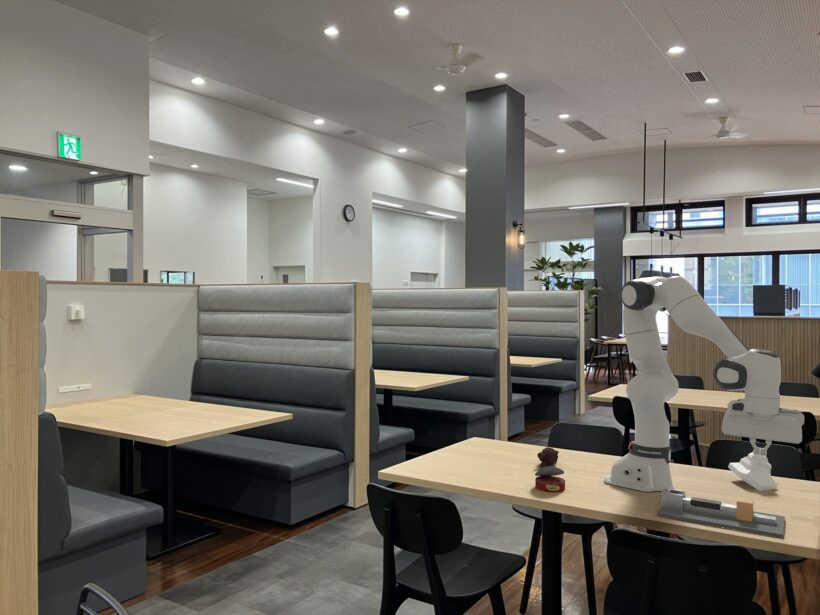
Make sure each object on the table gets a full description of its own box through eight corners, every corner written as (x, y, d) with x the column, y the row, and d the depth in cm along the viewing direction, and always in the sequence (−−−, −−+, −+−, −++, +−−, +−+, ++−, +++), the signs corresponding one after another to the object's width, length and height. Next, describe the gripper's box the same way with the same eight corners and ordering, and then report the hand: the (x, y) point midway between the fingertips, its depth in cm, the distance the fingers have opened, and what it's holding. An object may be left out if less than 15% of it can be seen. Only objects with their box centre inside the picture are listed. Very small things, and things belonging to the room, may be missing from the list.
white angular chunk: (761, 484, 231) (774, 447, 229) (777, 500, 216) (791, 461, 214) (725, 473, 233) (738, 437, 231) (740, 488, 218) (753, 449, 216)
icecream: (547, 443, 256) (528, 453, 245) (564, 441, 251) (545, 451, 240) (552, 460, 255) (533, 471, 244) (568, 459, 251) (550, 469, 239)
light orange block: (736, 519, 183) (736, 501, 183) (737, 514, 188) (738, 496, 188) (752, 521, 181) (752, 503, 181) (753, 517, 186) (753, 499, 186)
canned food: (536, 503, 214) (523, 475, 216) (549, 493, 222) (536, 466, 224) (564, 494, 207) (550, 465, 209) (576, 484, 215) (563, 456, 217)
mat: (657, 516, 188) (657, 512, 188) (667, 500, 204) (668, 497, 204) (783, 538, 172) (783, 534, 172) (784, 519, 187) (784, 516, 187)
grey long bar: (661, 507, 194) (661, 492, 194) (664, 502, 198) (664, 487, 198) (775, 526, 178) (775, 510, 178) (776, 520, 183) (776, 505, 183)
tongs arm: (673, 502, 193) (673, 496, 193) (674, 500, 196) (675, 494, 196) (751, 515, 182) (751, 509, 182) (752, 512, 185) (752, 506, 185)
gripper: (804, 409, 181) (802, 457, 181) (724, 400, 192) (722, 447, 192) (804, 412, 176) (802, 462, 176) (721, 403, 186) (720, 451, 187)
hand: (760, 454), depth 184 cm, fingers closed
